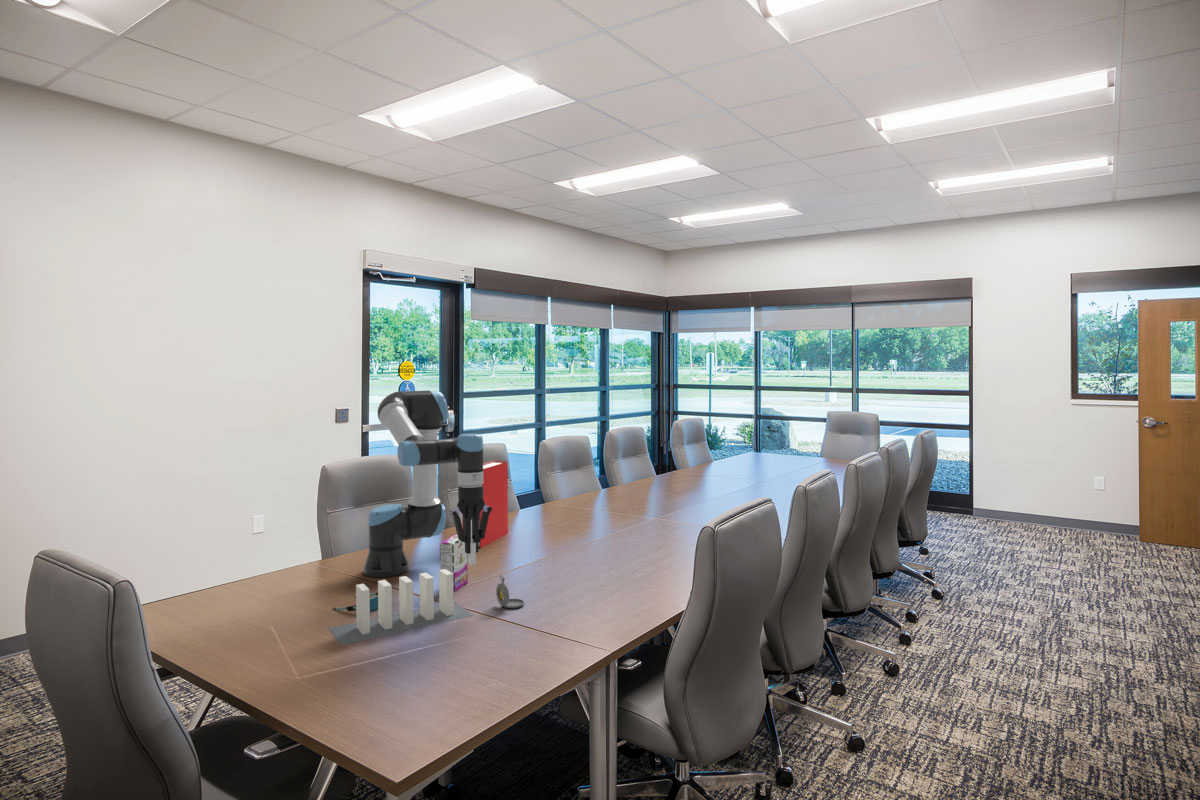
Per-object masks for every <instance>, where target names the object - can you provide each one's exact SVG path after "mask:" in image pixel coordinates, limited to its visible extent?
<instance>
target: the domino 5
mask: <svg viewBox="0 0 1200 800" xmlns="http://www.w3.org/2000/svg"><path fill="white" fill-rule="evenodd" d="M438 587H439V588H438V592H439V596H438V597H439V602H438V603H439V604H438V605H439V610H440V611H441V612H443V613H444V614H445V615H447V616H449V615H454V602H455V601H454V592H453V574H452V573H451V572H449V571H448V570H446V569H443V570H441V569H439V570H438Z"/></svg>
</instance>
